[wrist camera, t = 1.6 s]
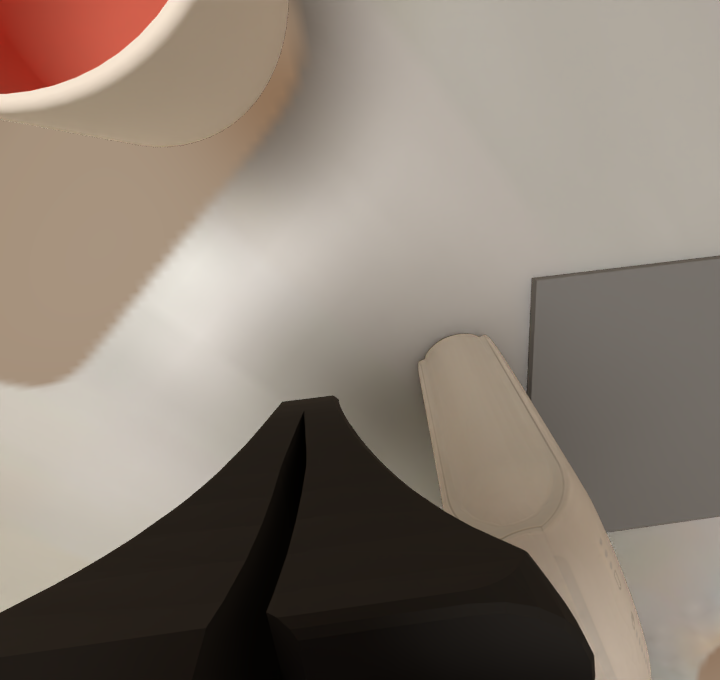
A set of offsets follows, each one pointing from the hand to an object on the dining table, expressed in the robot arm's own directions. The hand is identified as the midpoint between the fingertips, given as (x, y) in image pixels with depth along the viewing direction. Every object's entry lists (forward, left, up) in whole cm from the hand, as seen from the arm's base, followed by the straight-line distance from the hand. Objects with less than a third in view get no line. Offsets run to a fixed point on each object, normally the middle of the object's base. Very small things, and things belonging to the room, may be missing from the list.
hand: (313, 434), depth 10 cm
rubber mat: (-8, -17, -10) cm, 21 cm away
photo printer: (-7, -8, -10) cm, 14 cm away
